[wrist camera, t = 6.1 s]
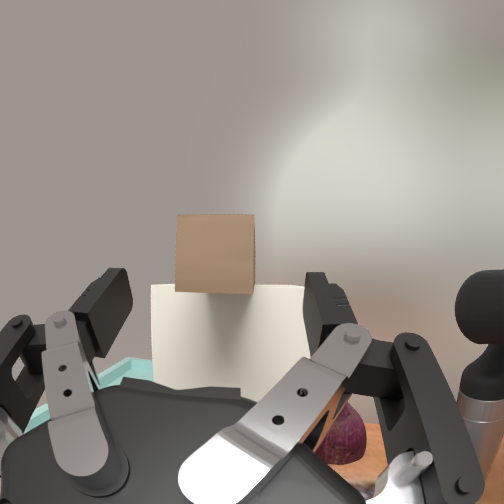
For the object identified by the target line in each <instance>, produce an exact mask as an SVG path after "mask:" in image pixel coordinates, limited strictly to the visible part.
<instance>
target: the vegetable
mask: <svg viewBox="0 0 504 504" xmlns="http://www.w3.org/2000/svg"><path fill="white" fill-rule="evenodd" d="M365 449H366V429H365V426H364V423H363V421H362V419H361V417H360V415H359V414H358V413H357V411H356V410H355V409H353V407H352V406H351V405H350V404H349V403H348V401H347V403H346V404H345V406H344V407H343V409H342V411H341V412H340V414H339V415H338V417H337V418H336V420H335V421H334V422H333V424H332V425H331V427H330V429H329V430H328V432H327V434H326V436H325V437H324V439H323V441H322V442H321V444H320V445H319V447H318V448H317V449H316V451H315V452H314V453H315V454H316V455H317V456H318V457H320V458H321V459H322V460H323V461H324V462H325V463H327V464H338V465H341V464H347V463H351V462H354V461H357V460H359V459H361V458H362V457H363V455H364V452H365Z"/></svg>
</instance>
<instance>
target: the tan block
mask: <svg viewBox="0 0 504 504" xmlns="http://www.w3.org/2000/svg"><path fill="white" fill-rule="evenodd" d="M254 229H255V228H254V215H240V214H237V215H235V214H227V215H226V214H222V215H221V214H209V215H208V214H206V215H205V214H202V215H201V214H200V215H199V214H198V215H177V233H176V259H175V260H176V261H175V292H193V293H228V294H253V292H254V286H255V230H254Z"/></svg>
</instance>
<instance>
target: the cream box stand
mask: <svg viewBox="0 0 504 504" xmlns="http://www.w3.org/2000/svg"><path fill="white" fill-rule="evenodd" d="M304 288H305V287H302V286H296V285H255V286H254V292H253V294H228V293H193V292H175V284H160V285H151V333H152V334H151V335H152V361H153V378H154V382H155V383H158V384H161V385H164V386H167V387H169V388H172V389H176V390H183V389H192V388H201V387H209V386H212V387H231V388H241V397H244V398H248V399H251V400H253V401H256V402H259V401H260V400H261V399H262V398H263V397H264V396H265V395H266V394H267V393H268V392H269V391H270V390H271V389H272V388H273V387H274V386H275V385H276V384H277V383H278V382H279V381H280V380H281V378H282V377H283V376H284V375H285V374H286V373H287V372H288V371H289V370H290V369H291V368H292V367H293V366H294V365H295V364H296V362H297V361H298V360H299V359H301V358H302V357H306V358H308V359H310V351H309V345H308V340H307V335H306V330H305V324H304V319H303V297H304Z"/></svg>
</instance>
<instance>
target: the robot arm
mask: <svg viewBox="0 0 504 504" xmlns="http://www.w3.org/2000/svg"><path fill="white" fill-rule="evenodd" d="M132 305H133V298H132V293H131V289H130V285H129V280H128V275H127V272H126V270H125V269H124V268H108V269H107V271H106V272H105V273H104V274H103V275H102V276H101V278H98V279H97V280H95V281H94V282H92V283H91V284H90V285H89V286H88V287H87V289H86V291H84V292H83V293H82V295H81V296H80V297H79V298H78V299H77V300H76V302H75V303H74V304H73V305H72V307H71V308H70V309H69V310H68V311H60V312H56V313H54V314H52V315H51V316H50V317H49V318H48V319H47V320H46V322H45V324H40V325H33V323H32V321H31V319H30V317H29V316H28V315H19V316H16V317H14V318H12V319H11V320H10V321H9V322H8V323H7V324H6V325H5V327H4V328H3V329H2V330H1V332H0V478H1V495H0V504H475V503H476V502H477V501H478V500H479V498H480V497H481V495H482V493H483V490H484V485H485V479H486V477H487V475H488V473H489V471H490V469H491V466H492V464H493V462H494V459H495V457H496V454H497V452H498V449H499V446H500V444H501V441H502V438H503V435H504V270H485V271H480V272H477V273H475V274H473V275H471V276H470V277H469V278H468V279H467V280H466V281H465V282H464V283H463V285H462V286H461V288H460V290H459V292H458V294H457V298H456V302H455V316H456V321H457V324H458V326H459V328H460V330H461V332H462V333H463V334H464V336H465V337H466V338H468V339H469V340H470V341H472V342H474V343H477V344H488V347H487V348H486V350H485V351H484V353H483V354H482V355H481V356H480V357H479V358H477V359H476V360H475V361H474V362H472V363H471V364H469V365H468V366H467V367H466V368H465V369H464V371H463V373H462V377H461V382H460V387H459V392H458V398H457V402H456V401H455V399H454V396H453V394H452V392H451V390H450V387H449V385H448V383H447V381H446V379H445V377H444V375H443V373H442V370H441V368H440V366H439V364H438V362H437V360H436V358H435V356H434V354H433V352H432V350H431V348H430V346H429V344H428V343H427V341H426V340H425V339H424V338H423V337H421V336H419V335H417V334H414V333H401V334H399V335H398V336H396V338H395V340H394V342H393V343H391V342H385V341H379V340H375V339H372V337H371V334H370V332H369V331H368V330H367V329H366V328H364V327H363V326H360V325H358V323H357V321H356V318H355V316H354V314H353V311H352V309H351V306H350V305H349V302H348V300H347V297H346V295H345V293H344V290H343V289H342V288H340V287H339V286H338V285H337V284H329V283H328V281H327V278H326V276H325V273H324V272H307V273H306V279H305V288H304V297H303V319H304V324H305V330H306V335H307V340H308V345H309V351H310V356H311V358H310V359H308V358H306V357H302V358H301V359H299V360H298V361H297V362H296V364H295V365H294V366H293V367H292V368H291V369H290V370H289V371H288V372H287V373H286V374H285V375H284V376H283V377H282V378H281V380H280V381H279V382H278V383H277V384H276V385H275V386H274V387H273V388H272V389H271V390H270V391H269V392H268V393H267V394H266V395H265V396H264V397H263V398H262V399H261V400H260V401H259V402H256V401H253V400H251V399H248V398H244V397H241V388H231V387H212V386H209V387H201V388H192V389H183V390H176V389H172V388H169V387H167V386H164V385H161V384H158V383H155V382H152V381H150V380H143V379H136V378H130V377H123V378H122V381H121V383H120V385H113V386H108V387H105V388H102V385H101V383H100V380H99V377H98V374H97V371H96V368H95V365H94V362H93V358H94V356H95V357H100V358H105V357H106V355H107V353H108V351H109V349H110V348H111V346H112V344H113V342H114V340H115V338H116V337H117V335H118V333H119V331H120V329H121V328H122V326H123V324H124V322H125V320H126V319H127V317H128V315H129V313H130V312H131V310H132ZM18 357H20V358H21V360H22V362H23V363H24V365H25V366H24V368H23V369H22V371H21V373H20V374H19V376H18V378H17V379H16V381H14V379H13V377H12V367H13V365H14V363H15V362H16V360H17V359H18ZM44 390H46V396H47V403H48V409H49V415H50V419H49V420H47V421H45V422H43V423H42V424H40V425H38V426H37V427H35V428H33V429H32V430H30V431H28V432H26V433H25V434H24V432H25V429H26V427H27V425H28V423H29V421H30V418H31V416H32V414H33V412H34V410H35V408H36V406H37V404H38V402H39V400H40V397H41V396H42V394H43V392H44ZM352 393H353V394H359V395H365V396H372V397H373V398H374V401H375V406H376V410H377V414H378V419H379V423H380V428H381V432H382V437H383V442H384V446H385V451H386V456H387V462H388V466H387V467H386V468H385V469H384V470H383V472H382V473H381V474H380V475H379V476H378V478H377V480H376V484H375V493H374V496H373V498H372V499H371V500H368V501H365V499H364V498H363V496H362V495H361V494H360V493H359V491H358V490H356V489H355V488H354V487H353V486H352V485H350V484H349V483H348V482H347V481H346V480H345V479H343V478H342V477H341V476H340V475H339V474H338V473H336V472H335V471H334V470H333V469H332V468H331V467H330V466H328V465H327V464H326V463H325V462H324V461H323V460H322V459H321V458H320V457H318V456H317V455H316V454H315V453H314V452H315V451H316V449H317V448H318V447H319V445H320V444H321V442H322V441H323V439H324V437H325V436H326V434H327V432H328V430H329V429H330V427H331V425H332V424H333V422H334V421H335V420H336V418H337V417H338V415H339V414H340V412H341V411H342V409H343V407H344V406H345V404H346V403H347V401H348V400H349V398H350V397H351V395H352Z"/></svg>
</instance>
